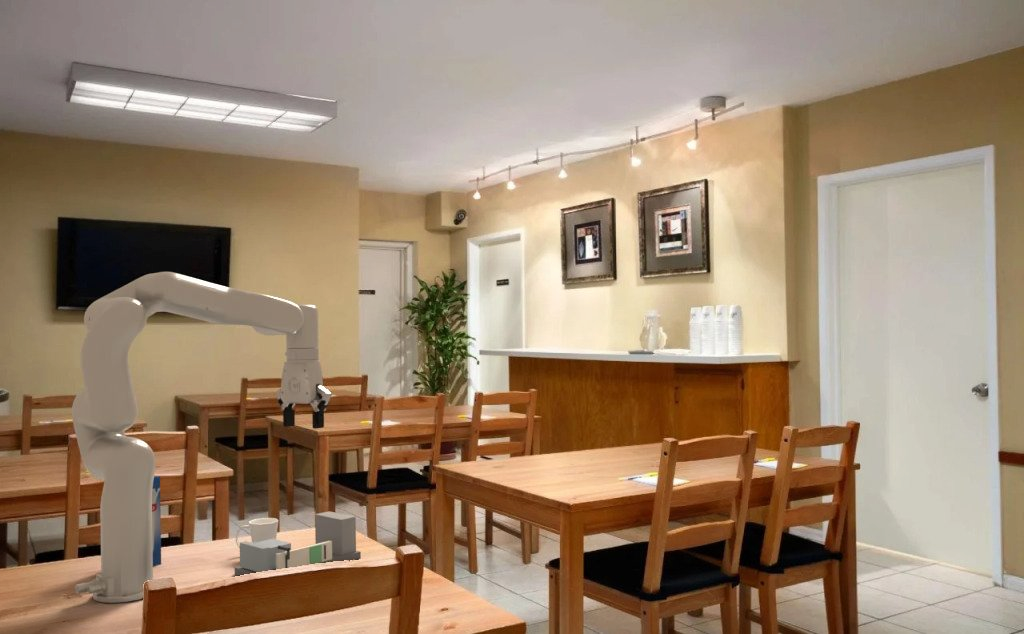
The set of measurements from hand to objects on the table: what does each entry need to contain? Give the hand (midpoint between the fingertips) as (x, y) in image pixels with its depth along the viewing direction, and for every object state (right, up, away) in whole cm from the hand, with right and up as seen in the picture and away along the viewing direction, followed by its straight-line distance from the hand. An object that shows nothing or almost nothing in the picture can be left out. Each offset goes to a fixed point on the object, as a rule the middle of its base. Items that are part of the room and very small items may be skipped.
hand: (303, 427), depth 202 cm
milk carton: (-36, -30, -12) cm, 48 cm away
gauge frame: (+3, -29, -13) cm, 32 cm away
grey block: (-2, -27, -21) cm, 34 cm away
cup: (-10, -30, -3) cm, 32 cm away
